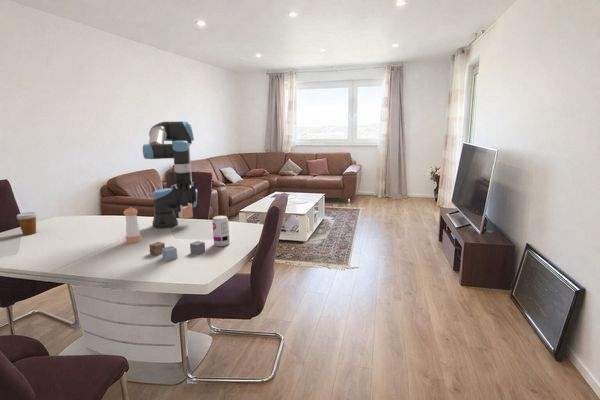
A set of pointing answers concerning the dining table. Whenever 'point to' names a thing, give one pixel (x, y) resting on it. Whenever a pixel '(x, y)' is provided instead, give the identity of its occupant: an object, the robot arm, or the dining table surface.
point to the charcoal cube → (197, 247)
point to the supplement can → (220, 230)
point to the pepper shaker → (132, 226)
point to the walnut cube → (156, 248)
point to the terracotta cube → (187, 212)
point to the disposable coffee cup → (27, 222)
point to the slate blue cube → (169, 253)
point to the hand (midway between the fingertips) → (185, 216)
